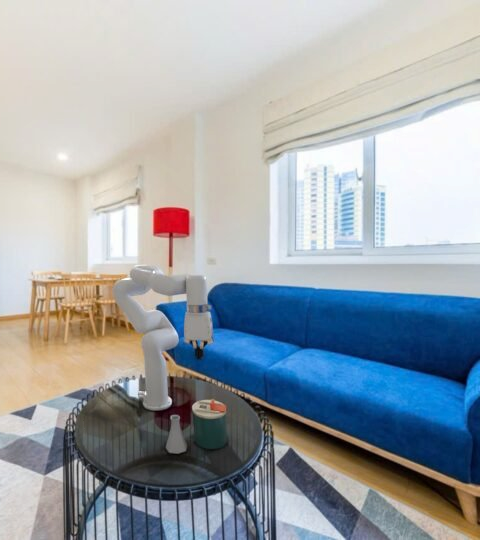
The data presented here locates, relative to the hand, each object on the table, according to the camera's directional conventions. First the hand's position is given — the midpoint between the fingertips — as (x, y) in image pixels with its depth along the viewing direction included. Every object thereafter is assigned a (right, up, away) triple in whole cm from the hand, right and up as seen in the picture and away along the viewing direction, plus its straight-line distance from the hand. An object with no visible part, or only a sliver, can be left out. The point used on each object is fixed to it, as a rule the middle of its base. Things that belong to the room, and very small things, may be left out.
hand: (199, 358), depth 106 cm
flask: (-9, -26, -11) cm, 30 cm away
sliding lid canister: (+3, -25, -7) cm, 26 cm away
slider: (+5, -14, -9) cm, 17 cm away
